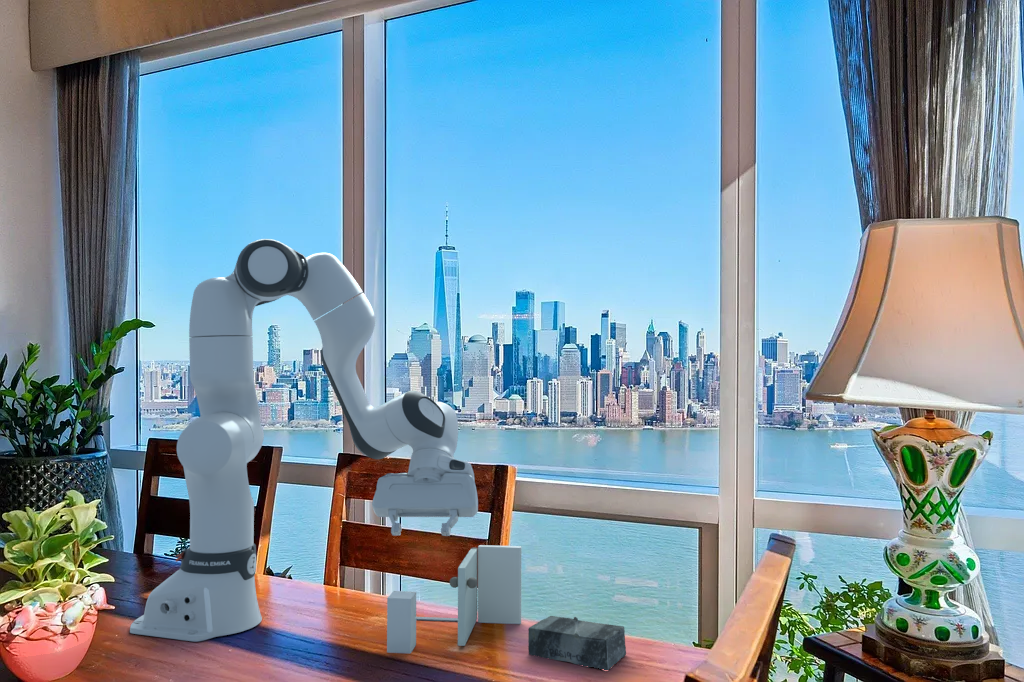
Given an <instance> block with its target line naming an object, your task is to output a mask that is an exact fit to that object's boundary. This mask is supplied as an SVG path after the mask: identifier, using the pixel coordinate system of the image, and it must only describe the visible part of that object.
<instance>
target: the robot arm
mask: <svg viewBox="0 0 1024 682" xmlns="http://www.w3.org/2000/svg"><path fill="white" fill-rule="evenodd" d="M235 263H236V264H235V266H234V269H233V272H232V273H230V274H229V275H227V276H225V277H221V276H220V277H212V278H208V279H205V280H203V281H201V282H200V283H198V284H197V286H195V288H194V291H193V294H192V298H191V299H192V301H191V306H190V314H189V327H188V328H189V329H188V330H189V331H188V337H189V340H188V341H189V343H188V344H189V348H188V349H189V379H190V383H191V385H192V387H193V390H194V392H195V395H196V399H197V405H198V409H199V414H200V416H199V417H197V418H195V419H194V420H192V421H191V422H190V423H189V424H188V425H187V426H186V427H185V428H184V429H183V430H182V432H181V433H180V434H179V436H178V439H177V442H176V454H177V455H176V456H177V459H178V460H179V462H180V464H181V466H182V467H183V472H184V478H185V483H186V489H187V494H188V499H189V500H188V502H189V513H190V514H189V515H190V516H189V518H190V519H189V547H187V548H186V549H185V550H182V551H181V553H178V554H177V555H175V558H176V559H175V562H176V563H177V562H179V561H180V563H181V564H180V566H179V569H177V570H176V571H175V572H174V573H173V574H172V575H170V576H169V577H168V578H166V579H165V580H164V581H163V582H161V583H160V584H159V585H158V586H156V587H155V588H154V589H153V590H152V591H151V592H150V593H149V595H148V596H147V600H146V603H145V605H144V606H145V607H144V612H143V613H144V614H143V615H140V616H139V617H138V618H136V619H134V620H133V622H131V624H130V628H129V633H130V634H133V635H134V634H135V635H140V636H141V635H142V636H148V637H149V636H150V637H155V638H156V637H157V638H163V639H172V640H179V641H187V642H188V641H189V642H203V641H207V640H210V639H213V638H216V637H223V636H227V635H228V636H229V635H233V634H237V633H241V632H244V631H247V630H250V629H253V628H254V627H257V626H258V625H259V624H261V622H262V620H263V617H262V614H261V611H260V606H259V602H258V597H257V590H256V580H255V579H256V578H255V575H256V572H257V545H256V543H254V536H255V531H254V530H255V528H254V525H255V522H254V521H255V517H254V516H255V501H254V499H253V497H252V493H251V489H250V483H249V477H248V467H247V466H248V463H249V462H251V461H253V460H254V459H255V457H256V456H257V455H258V453H259V452H260V450H261V448H262V446H263V443H264V439H265V434H264V429H263V428H264V427H263V426H262V421H261V413H260V406H259V402H258V397H257V391H256V384H255V379H254V377H255V376H254V352H253V351H254V350H253V348H254V346H253V314H254V310H255V307H258V306H261V305H265V304H269V303H272V302H275V301H277V300H279V299H281V298H283V297H286V296H290V297H294V298H295V299H297V300H298V301H299V302H301V303H300V304H302V306H304V308H305V309H306V310H307V312H308V314H309V316H310V317H311V319H312V321H313V322H314V324H315V325H316V327H317V329H318V332H319V335H320V338H321V345H322V346H321V347H322V348H321V350H320V358H321V362H322V365H323V368H324V371H325V374H326V376H327V378H328V380H329V382H330V383H329V384H330V385H331V387H332V390H333V392H334V394H335V396H336V398H337V400H338V403H339V405H340V407H341V410H342V412H343V414H344V416H345V419H346V421H347V423H348V428H349V431H350V434H351V439H352V441H353V443H354V446H355V448H356V449H357V450H358V451H359V452H360V453H361V454H363V455H364V456H366V457H368V458H371V459H373V460H381V459H382V460H383V459H384V458H386V457H388V456H389V455H391V454H392V453H394V452H396V451H397V450H399V449H402V448H404V447H406V446H409V447H411V448H412V453H411V457H410V460H409V465H408V471H407V472H400V473H399V472H398V473H391V472H388V473H386V474H384V475H382V476H381V477H379V478H378V480H377V483H376V486H375V487H376V490H375V492H374V495H373V499H372V502H371V505H372V511H373V512H374V515H376V517H378V518H389V521H390V523H391V529H390V533H391V536H401V534H402V533H401V532H402V529H403V528H402V525H401V523H400V522H398V519H399V518H449V519H448V520H447V521H446V522H442V523H441V529H440V533H441V536H445V537H448V536H449V537H450V536H451V531H452V528H454V526H455V525H456V524H457V523H458V522H459V518H473V517H475V516H476V515H477V513H478V511H479V499H478V491H477V486H476V482H475V473H474V469H473V466H472V464H471V463H470V462H468V461H464V460H460V459H456V458H455V457H454V455H455V453H456V450H457V447H458V439H459V422H458V416H457V413H456V411H455V409H454V408H453V407H451V406H450V405H449V404H447V403H444V402H442V401H434V400H433V399H432V398H430V397H429V396H427V395H425V394H424V393H422V392H420V391H417V390H409V391H406V392H404V393H402V394H399V395H398V396H396V397H393V398H391V399H390V400H389V401H386V402H385V403H382V404H381V405H378V406H376V407H375V406H374V405H372V404H371V403H370V401H369V399H368V396H367V395H366V392H365V389H364V387H363V385H362V383H361V380H360V379H359V376H358V373H357V367H356V366H357V361H358V358H359V356H360V354H361V352H362V351H363V349H364V348H365V347H366V345H367V344H368V343H369V341H370V339H371V337H372V336H373V334H374V330H375V326H376V314H375V311H374V309H373V307H372V304H371V303H370V301H369V299H368V298H367V296H366V295H365V293H364V292H363V290H362V288H361V287H360V284H359V283H358V282H357V281H356V279H355V278H354V277H353V275H352V274H351V272H349V270H348V269H347V267H345V265H344V263H342V262H341V261H340V260H339V259H338V258H337V257H336V256H335V255H333V254H332V253H328V252H317V253H313V254H311V255H309V256H305V255H304V254H302V253H300V252H298V251H297V250H295V249H293V248H292V247H290V246H288V245H287V244H285V243H283V242H281V241H279V240H277V239H276V240H275V239H272V238H261V239H256V240H254V241H252V242H250V243H248V244H247V245H246V246H244V247H243V249H241V251H240V252H239V255H238V256H237V260H236V262H235Z"/></svg>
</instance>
